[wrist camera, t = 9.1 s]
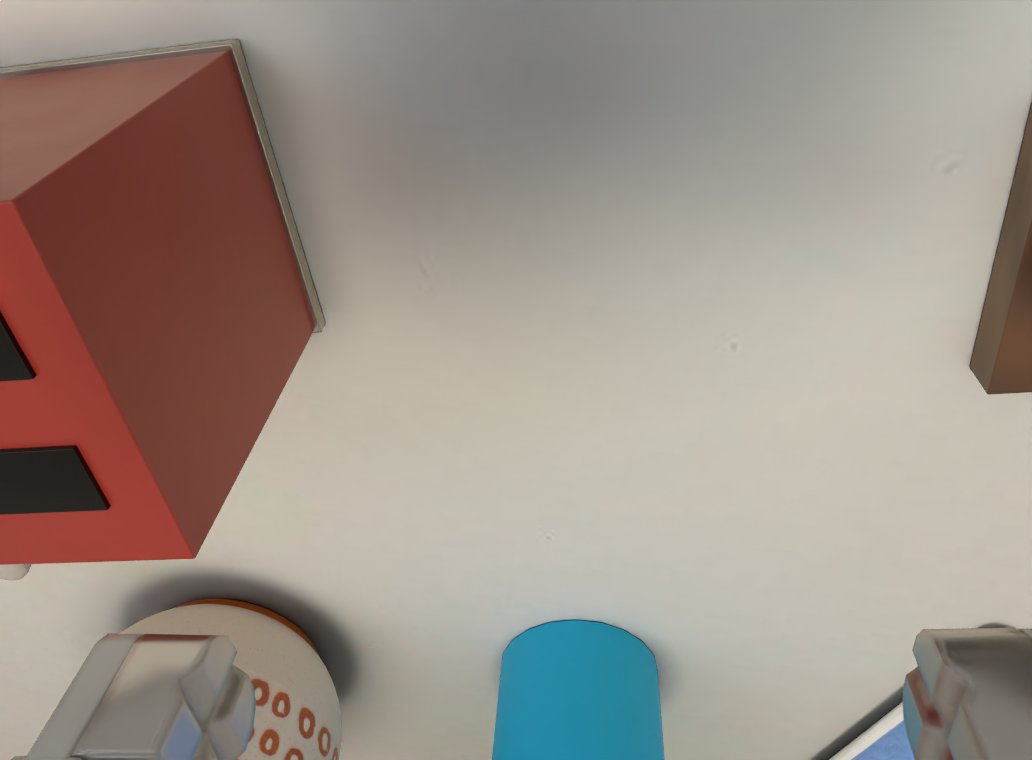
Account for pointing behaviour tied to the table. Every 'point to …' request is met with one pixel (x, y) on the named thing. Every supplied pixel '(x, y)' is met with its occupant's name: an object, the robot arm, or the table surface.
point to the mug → (578, 696)
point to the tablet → (880, 741)
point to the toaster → (138, 300)
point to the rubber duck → (14, 571)
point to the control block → (1010, 293)
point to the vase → (267, 676)
